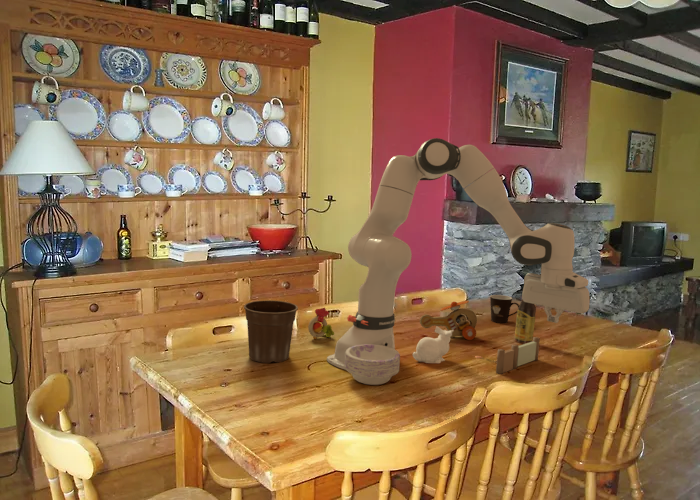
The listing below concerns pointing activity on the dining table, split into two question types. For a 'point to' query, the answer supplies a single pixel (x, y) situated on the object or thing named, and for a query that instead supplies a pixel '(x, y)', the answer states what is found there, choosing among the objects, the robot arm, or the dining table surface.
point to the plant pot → (270, 329)
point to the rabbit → (433, 347)
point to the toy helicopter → (454, 321)
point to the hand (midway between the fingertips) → (552, 321)
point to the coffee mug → (501, 308)
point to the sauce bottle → (525, 322)
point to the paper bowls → (372, 363)
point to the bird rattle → (317, 327)
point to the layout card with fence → (506, 359)
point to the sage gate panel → (528, 351)
